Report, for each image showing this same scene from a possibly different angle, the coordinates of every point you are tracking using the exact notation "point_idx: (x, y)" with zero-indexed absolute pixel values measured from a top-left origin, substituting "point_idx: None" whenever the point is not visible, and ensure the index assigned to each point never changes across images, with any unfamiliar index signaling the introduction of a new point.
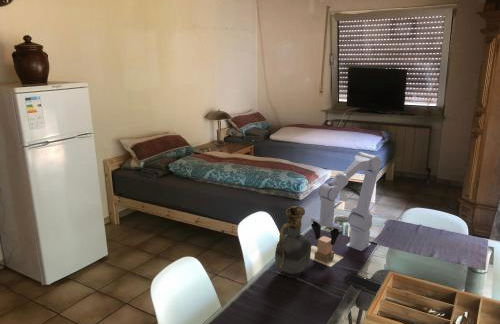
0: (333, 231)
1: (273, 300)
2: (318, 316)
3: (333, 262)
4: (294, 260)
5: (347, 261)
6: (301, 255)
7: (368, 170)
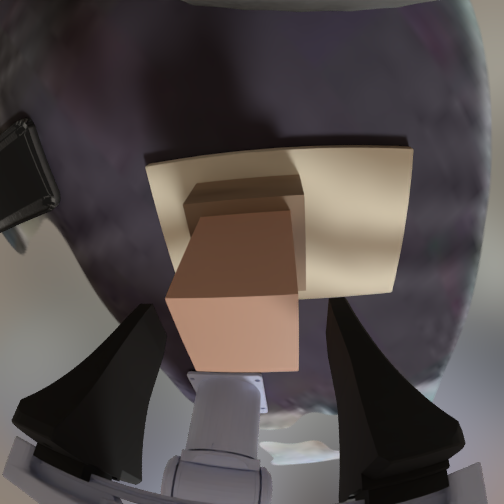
0: (35, 436)
1: None
2: None
3: (174, 222)
4: None
5: (155, 287)
6: None
7: None
